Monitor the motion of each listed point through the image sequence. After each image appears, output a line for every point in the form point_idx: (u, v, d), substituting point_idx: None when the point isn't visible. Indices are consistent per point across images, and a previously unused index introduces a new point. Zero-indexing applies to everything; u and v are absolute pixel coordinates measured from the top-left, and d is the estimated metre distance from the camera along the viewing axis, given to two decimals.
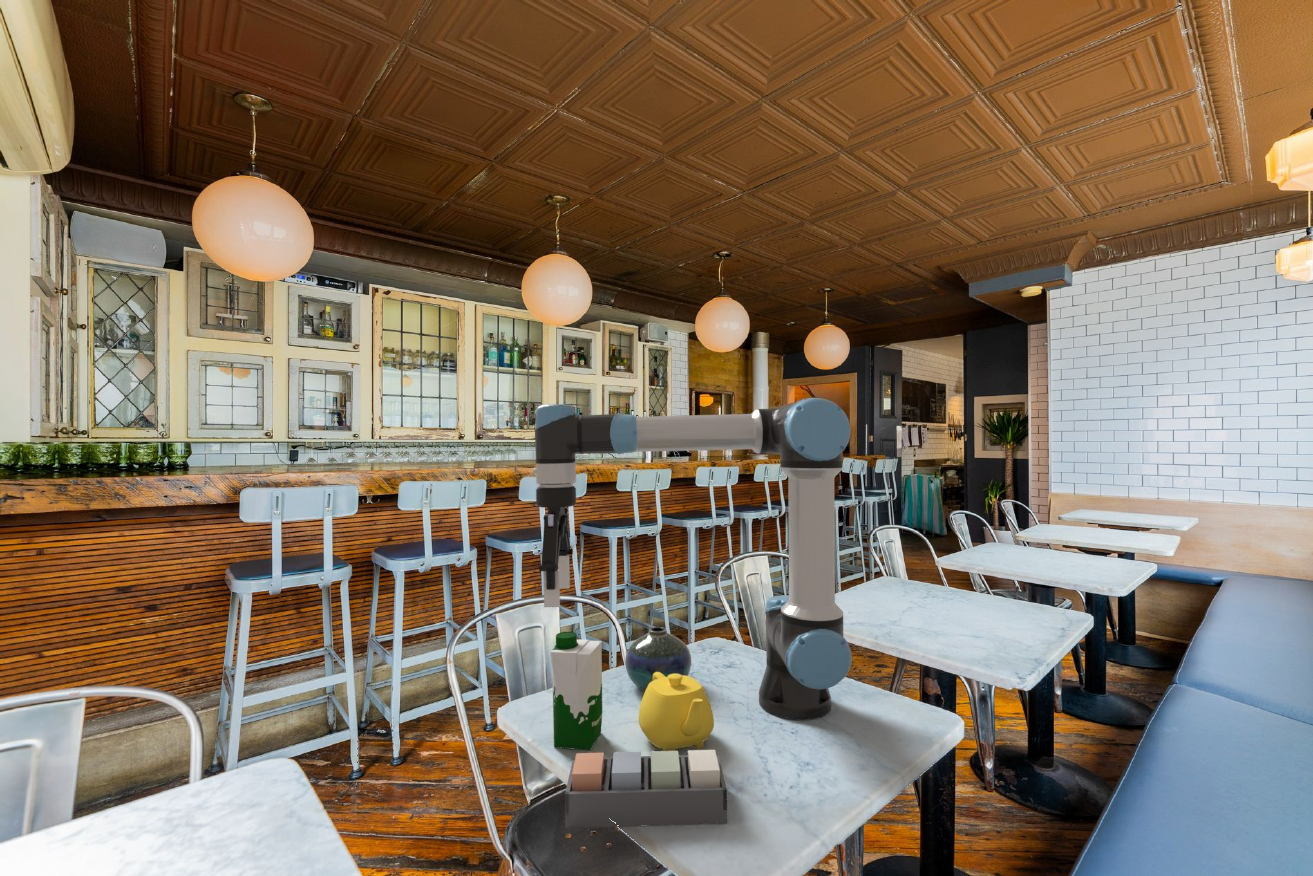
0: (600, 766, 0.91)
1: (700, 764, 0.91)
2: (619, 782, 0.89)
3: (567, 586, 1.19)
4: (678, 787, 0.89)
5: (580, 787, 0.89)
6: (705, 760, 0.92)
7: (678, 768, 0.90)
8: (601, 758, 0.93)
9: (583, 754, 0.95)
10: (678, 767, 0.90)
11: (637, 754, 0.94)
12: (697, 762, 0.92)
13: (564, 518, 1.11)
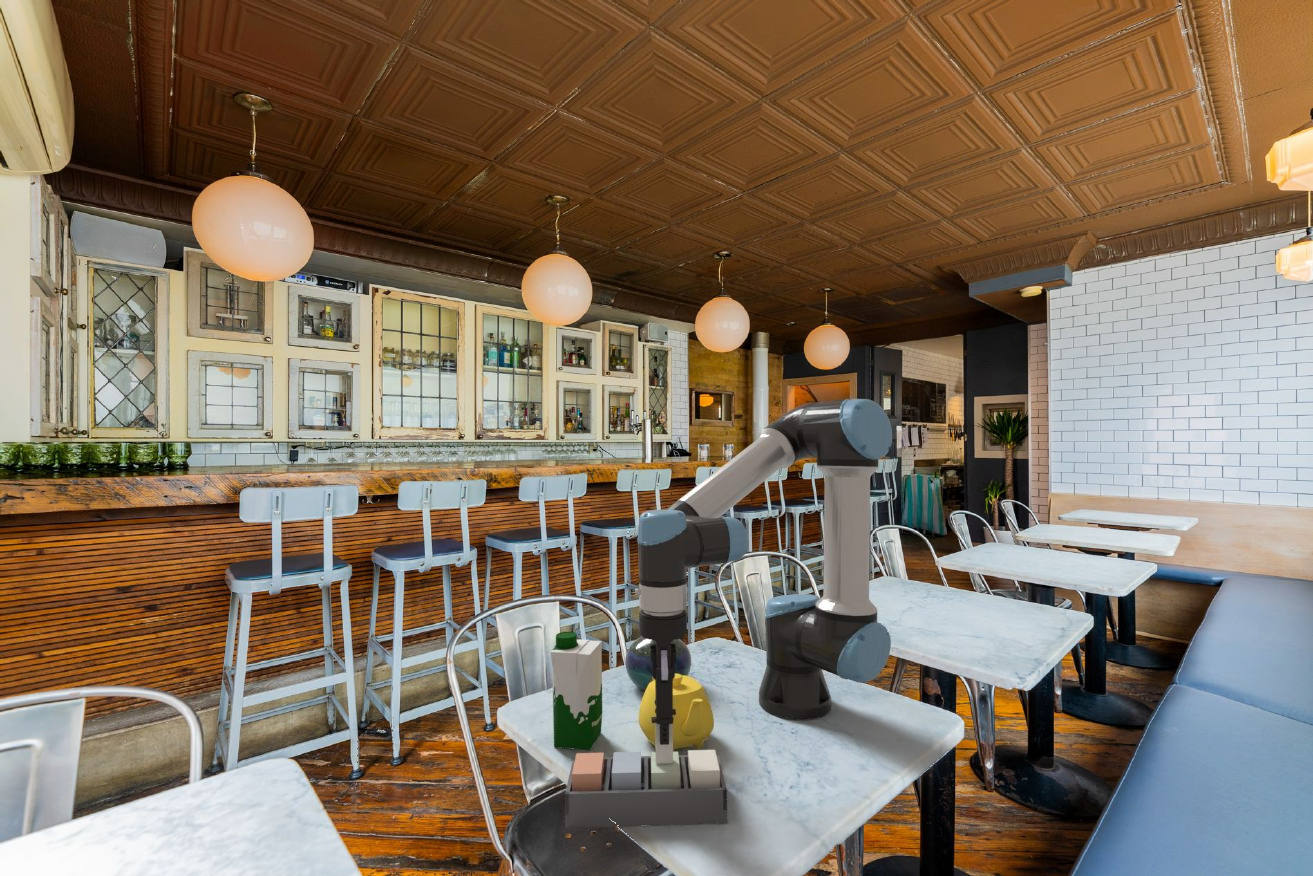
0: (600, 766, 0.91)
1: (700, 764, 0.91)
2: (619, 782, 0.89)
3: None
4: (678, 788, 0.89)
5: (580, 787, 0.89)
6: (705, 760, 0.92)
7: (678, 769, 0.90)
8: (601, 758, 0.93)
9: (583, 754, 0.95)
10: (678, 768, 0.90)
11: (637, 754, 0.94)
12: (697, 762, 0.92)
13: (675, 655, 0.91)
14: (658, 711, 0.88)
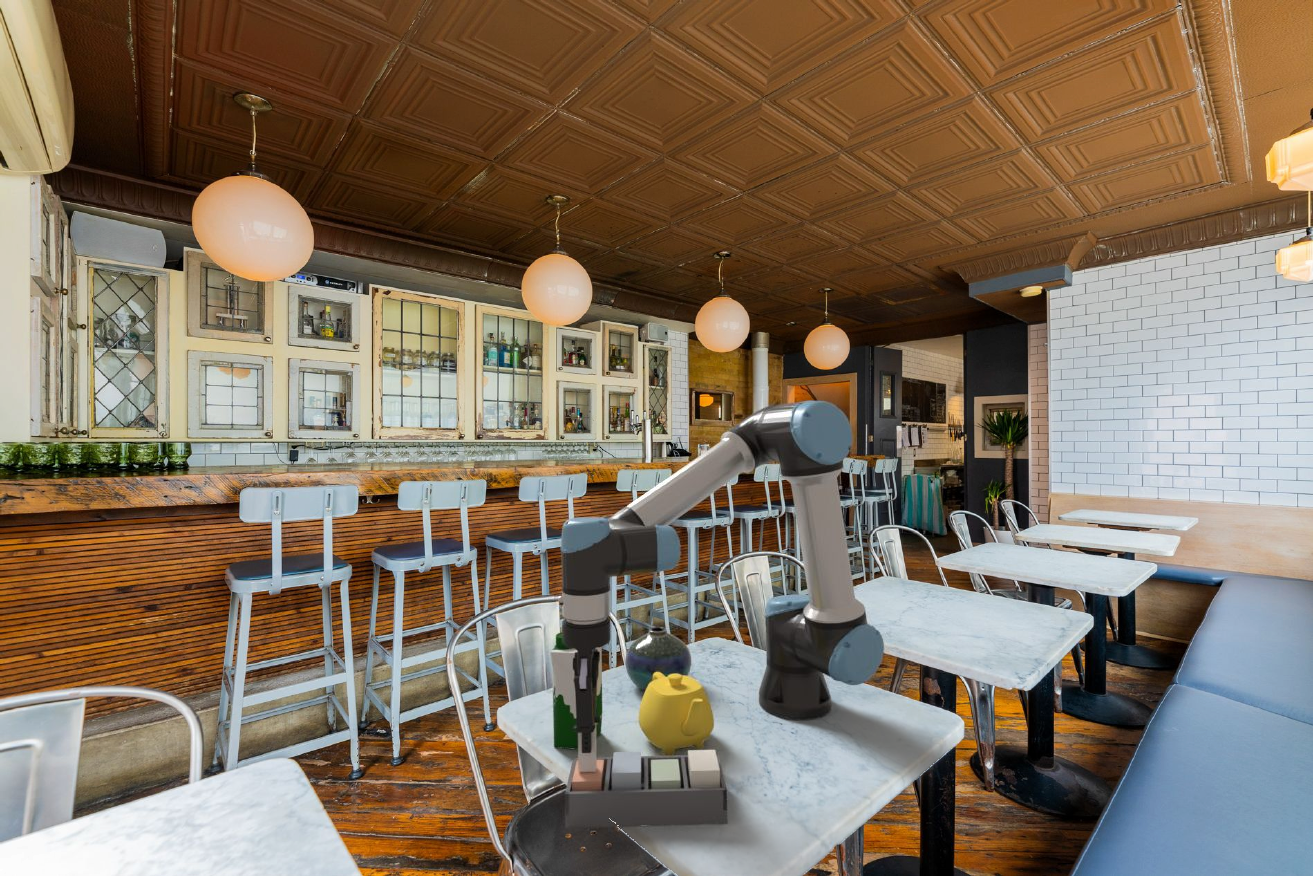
0: (600, 773, 0.91)
1: (700, 764, 0.91)
2: (619, 782, 0.89)
3: None
4: None
5: None
6: (705, 760, 0.92)
7: (678, 777, 0.90)
8: (601, 765, 0.93)
9: None
10: (678, 776, 0.90)
11: (637, 754, 0.94)
12: (697, 762, 0.92)
13: (596, 663, 0.90)
14: (578, 720, 0.88)
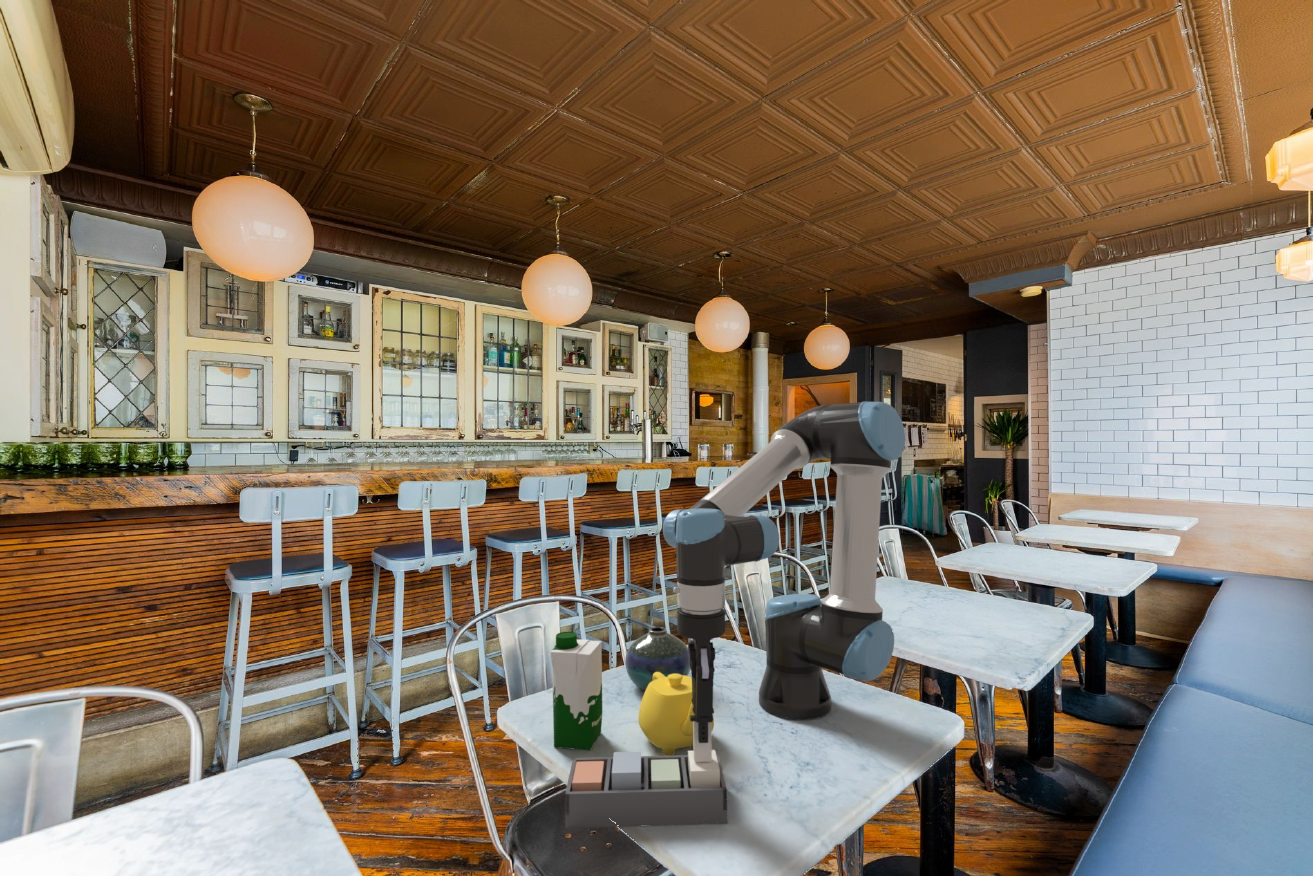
0: (600, 775, 0.91)
1: (700, 764, 0.91)
2: (619, 782, 0.89)
3: None
4: None
5: None
6: None
7: (678, 777, 0.90)
8: (601, 767, 0.93)
9: (583, 762, 0.95)
10: (678, 776, 0.90)
11: (637, 754, 0.94)
12: (697, 763, 0.92)
13: (713, 653, 0.91)
14: (698, 709, 0.88)
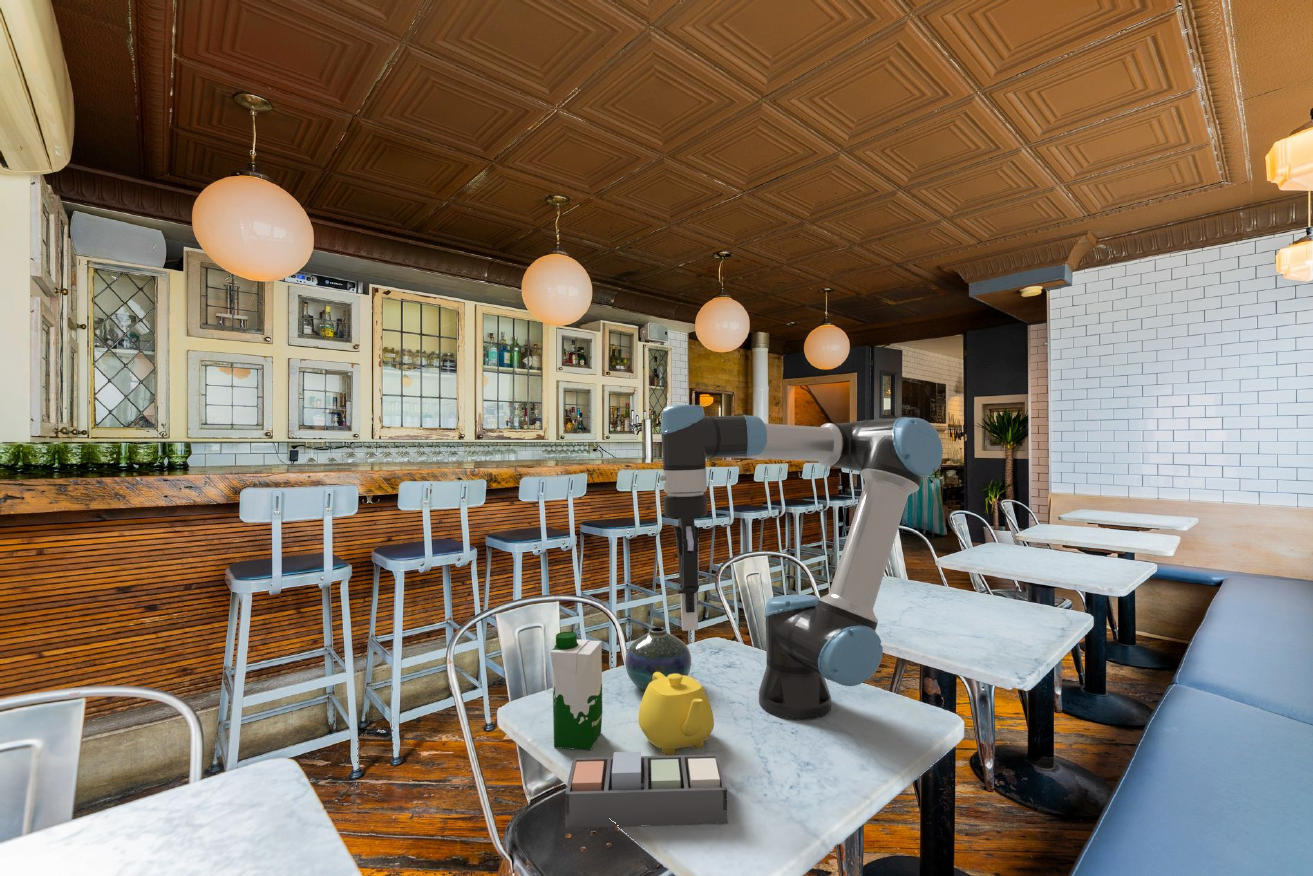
0: (600, 775, 0.91)
1: (700, 773, 0.91)
2: (619, 782, 0.89)
3: None
4: None
5: None
6: (705, 769, 0.92)
7: (678, 777, 0.90)
8: (601, 767, 0.93)
9: (583, 762, 0.95)
10: (678, 776, 0.90)
11: (637, 754, 0.94)
12: (697, 771, 0.92)
13: (697, 532, 1.01)
14: (685, 580, 0.99)
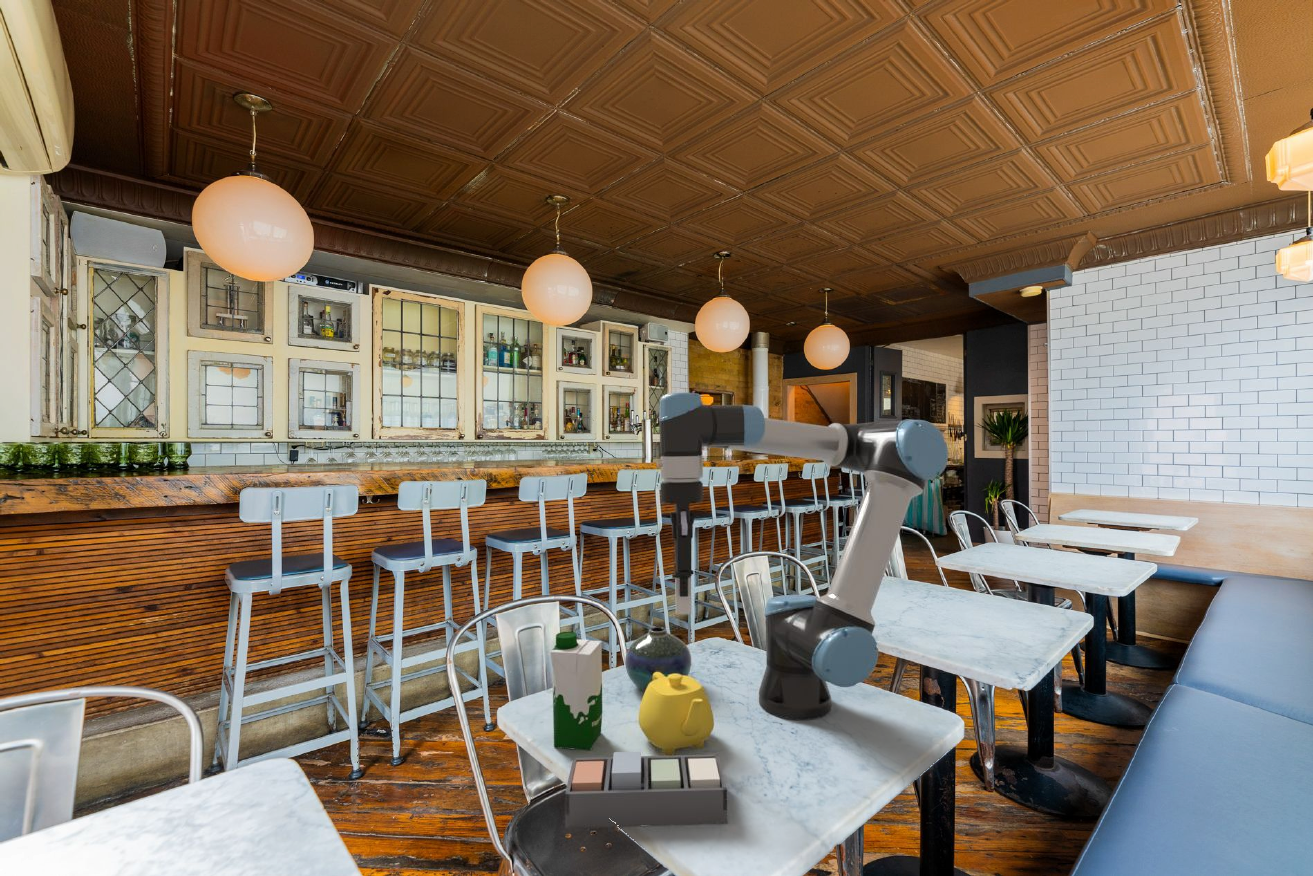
0: (600, 775, 0.91)
1: (700, 773, 0.91)
2: (619, 782, 0.89)
3: None
4: None
5: None
6: (705, 769, 0.92)
7: (678, 777, 0.90)
8: (601, 767, 0.93)
9: (583, 762, 0.95)
10: (678, 776, 0.90)
11: (637, 754, 0.94)
12: (697, 771, 0.92)
13: (692, 517, 1.03)
14: (678, 564, 1.00)
